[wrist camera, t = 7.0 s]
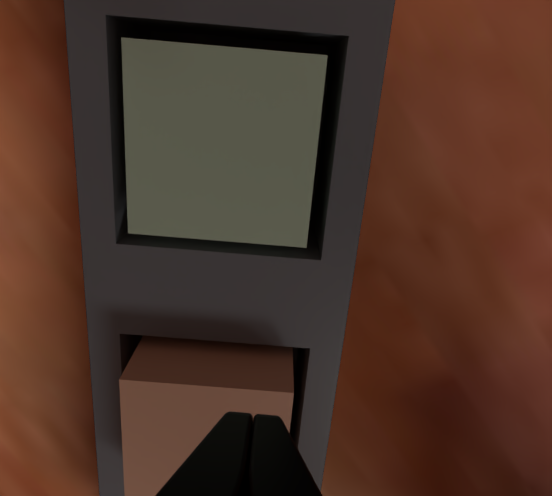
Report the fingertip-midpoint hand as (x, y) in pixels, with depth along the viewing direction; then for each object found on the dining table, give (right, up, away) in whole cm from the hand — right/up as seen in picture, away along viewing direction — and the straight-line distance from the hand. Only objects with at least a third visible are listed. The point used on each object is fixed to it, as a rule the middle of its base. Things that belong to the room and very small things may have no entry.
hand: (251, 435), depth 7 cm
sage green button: (-1, +7, +9) cm, 11 cm away
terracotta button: (-2, -2, +11) cm, 11 cm away
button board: (-2, -1, +14) cm, 14 cm away
